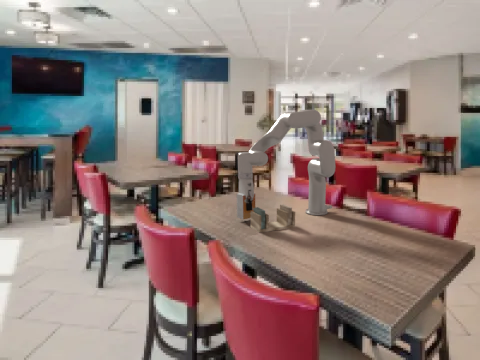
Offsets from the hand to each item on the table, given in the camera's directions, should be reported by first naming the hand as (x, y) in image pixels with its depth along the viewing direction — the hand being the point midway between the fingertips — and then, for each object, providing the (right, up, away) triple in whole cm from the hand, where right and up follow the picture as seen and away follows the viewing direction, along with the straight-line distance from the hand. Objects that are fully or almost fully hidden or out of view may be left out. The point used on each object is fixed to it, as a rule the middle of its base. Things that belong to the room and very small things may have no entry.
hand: (246, 208), depth 202 cm
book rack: (+13, -9, -10) cm, 19 cm away
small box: (0, -5, +1) cm, 5 cm away
